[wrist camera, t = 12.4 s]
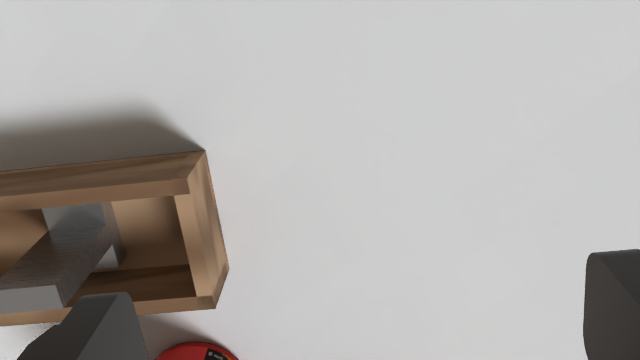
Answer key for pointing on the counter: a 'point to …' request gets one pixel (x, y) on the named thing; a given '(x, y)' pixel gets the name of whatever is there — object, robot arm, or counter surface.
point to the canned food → (196, 352)
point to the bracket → (62, 258)
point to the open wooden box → (127, 229)
